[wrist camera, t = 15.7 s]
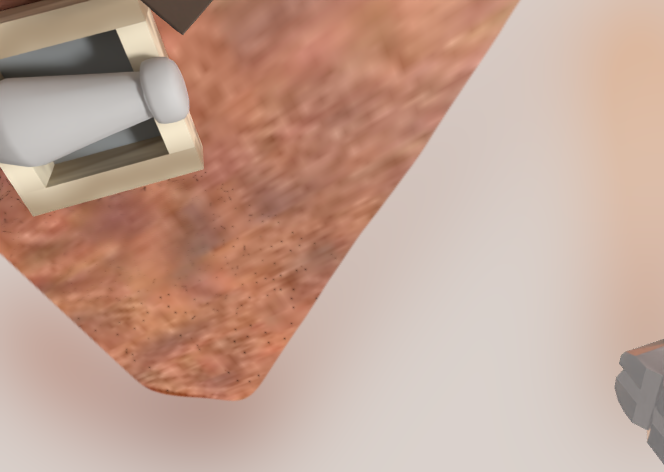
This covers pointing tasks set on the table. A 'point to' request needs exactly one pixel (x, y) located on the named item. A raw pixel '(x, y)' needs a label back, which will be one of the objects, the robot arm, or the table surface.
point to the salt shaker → (84, 109)
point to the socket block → (93, 58)
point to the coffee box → (178, 11)
